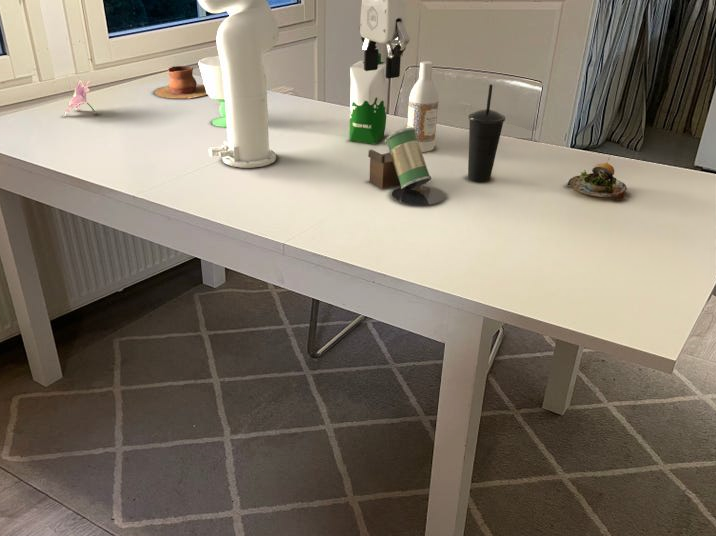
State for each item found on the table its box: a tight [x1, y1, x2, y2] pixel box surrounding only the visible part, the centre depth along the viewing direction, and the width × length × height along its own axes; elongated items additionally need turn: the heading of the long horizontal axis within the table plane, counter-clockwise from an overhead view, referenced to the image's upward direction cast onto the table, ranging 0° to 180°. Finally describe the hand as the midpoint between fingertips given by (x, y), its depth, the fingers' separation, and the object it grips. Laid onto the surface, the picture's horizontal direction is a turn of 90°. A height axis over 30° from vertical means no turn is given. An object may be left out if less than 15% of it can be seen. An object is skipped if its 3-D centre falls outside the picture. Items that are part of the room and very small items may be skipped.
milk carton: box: [349, 52, 389, 145], centre depth 176 cm, size 9×9×20 cm
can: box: [384, 127, 432, 191], centre depth 148 cm, size 7×12×13 cm, turn 31°
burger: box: [567, 156, 628, 202], centre depth 149 cm, size 12×12×8 cm
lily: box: [63, 78, 98, 117], centre depth 199 cm, size 12×12×10 cm
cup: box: [198, 55, 227, 128], centre depth 190 cm, size 14×14×16 cm
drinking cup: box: [467, 84, 506, 184], centre depth 152 cm, size 8×8×20 cm
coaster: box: [391, 185, 445, 207], centre depth 149 cm, size 11×11×1 cm
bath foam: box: [406, 60, 439, 153], centre depth 170 cm, size 7×7×20 cm
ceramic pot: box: [154, 65, 208, 100], centre depth 220 cm, size 18×18×7 cm
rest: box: [368, 149, 401, 190], centre depth 154 cm, size 9×5×7 cm, turn 121°
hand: (381, 73), depth 148 cm, fingers open, 7 cm apart
